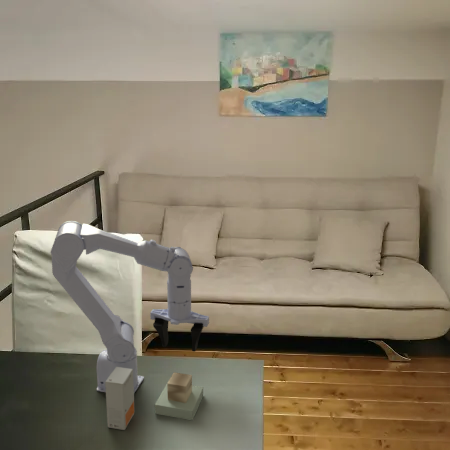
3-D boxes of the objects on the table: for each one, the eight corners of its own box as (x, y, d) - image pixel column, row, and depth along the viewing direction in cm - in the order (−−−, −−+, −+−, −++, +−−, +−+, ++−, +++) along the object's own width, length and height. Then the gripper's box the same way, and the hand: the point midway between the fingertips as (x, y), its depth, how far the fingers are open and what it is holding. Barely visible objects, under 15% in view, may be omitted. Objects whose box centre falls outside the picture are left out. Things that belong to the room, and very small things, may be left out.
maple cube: (167, 399, 117) (167, 383, 115) (174, 388, 121) (173, 372, 120) (186, 403, 116) (185, 386, 114) (191, 391, 120) (191, 375, 119)
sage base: (155, 413, 116) (154, 404, 115) (168, 390, 124) (168, 381, 123) (192, 420, 114) (192, 411, 113) (203, 395, 122) (203, 387, 122)
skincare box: (125, 431, 110) (122, 384, 107) (107, 428, 111) (104, 381, 107) (135, 413, 116) (133, 368, 112) (118, 410, 117) (115, 365, 113)
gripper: (144, 301, 119) (146, 351, 123) (203, 309, 116) (203, 360, 120) (155, 289, 126) (157, 337, 130) (211, 296, 123) (211, 344, 127)
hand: (179, 347), depth 126 cm, fingers open, 7 cm apart
